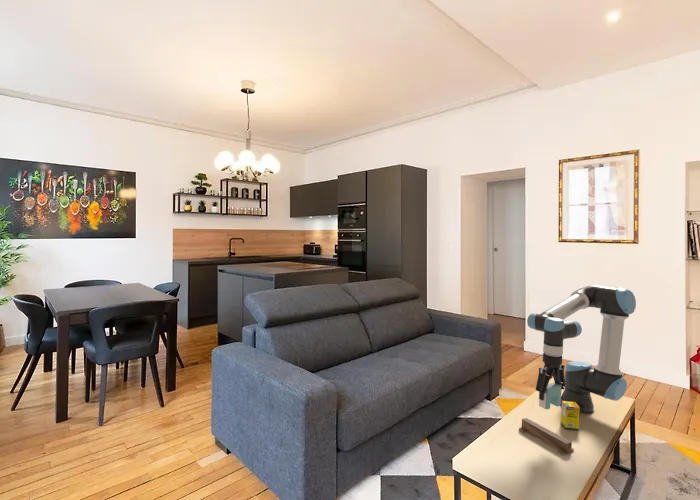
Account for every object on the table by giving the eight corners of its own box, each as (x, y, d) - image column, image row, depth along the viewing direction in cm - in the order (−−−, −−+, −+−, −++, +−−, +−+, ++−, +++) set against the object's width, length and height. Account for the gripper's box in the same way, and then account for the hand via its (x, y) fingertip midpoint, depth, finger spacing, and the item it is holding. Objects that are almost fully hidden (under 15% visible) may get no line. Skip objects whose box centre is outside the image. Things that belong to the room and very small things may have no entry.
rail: (529, 426, 179) (529, 417, 178) (574, 451, 159) (574, 441, 159) (518, 429, 176) (518, 420, 175) (563, 455, 156) (563, 445, 156)
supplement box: (579, 430, 176) (580, 407, 175) (564, 429, 177) (566, 406, 176) (574, 424, 181) (575, 401, 181) (560, 422, 183) (561, 400, 182)
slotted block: (552, 402, 170) (554, 382, 169) (560, 405, 167) (561, 385, 166) (539, 406, 166) (540, 385, 165) (546, 409, 163) (547, 388, 162)
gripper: (560, 348, 173) (558, 397, 174) (527, 354, 163) (525, 405, 165) (576, 353, 166) (573, 403, 168) (543, 360, 157) (540, 413, 158)
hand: (549, 404), depth 166 cm, fingers closed on slotted block, 9 cm apart
